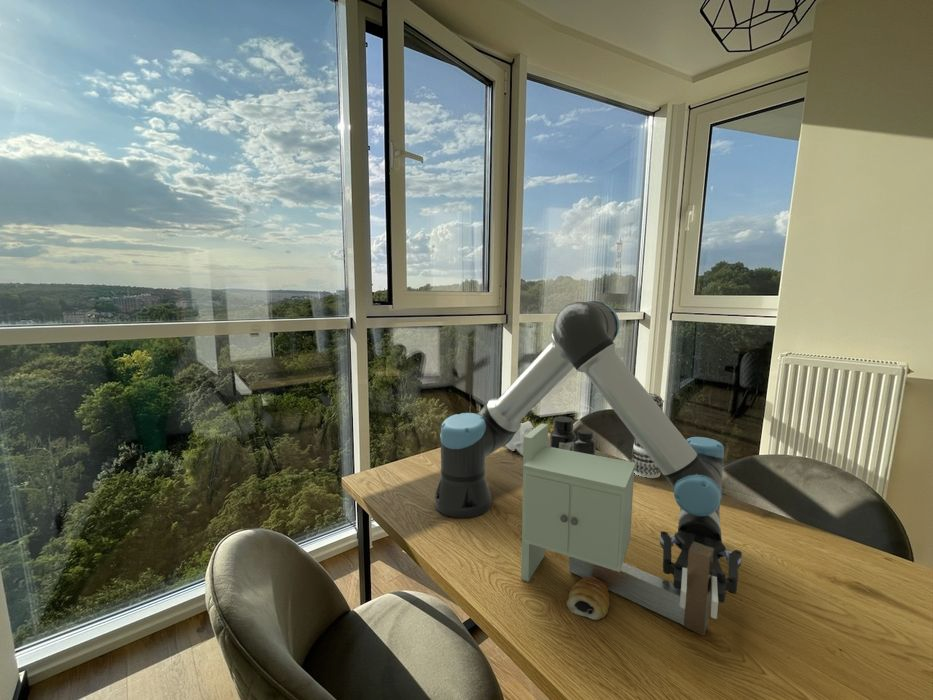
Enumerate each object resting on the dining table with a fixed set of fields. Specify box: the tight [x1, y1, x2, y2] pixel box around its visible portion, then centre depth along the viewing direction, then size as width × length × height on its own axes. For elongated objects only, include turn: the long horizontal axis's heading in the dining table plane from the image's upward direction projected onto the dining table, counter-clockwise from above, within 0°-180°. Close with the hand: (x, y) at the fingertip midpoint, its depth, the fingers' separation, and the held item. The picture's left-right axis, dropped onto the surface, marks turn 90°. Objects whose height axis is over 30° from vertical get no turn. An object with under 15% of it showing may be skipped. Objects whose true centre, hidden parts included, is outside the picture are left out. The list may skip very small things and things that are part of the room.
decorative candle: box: [631, 392, 665, 479], centre depth 128 cm, size 9×9×25 cm
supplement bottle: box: [573, 429, 597, 455], centre depth 133 cm, size 7×7×12 cm
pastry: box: [566, 577, 611, 621], centre depth 74 cm, size 9×7×4 cm
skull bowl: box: [505, 420, 535, 456], centre depth 148 cm, size 10×14×12 cm
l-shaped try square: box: [568, 541, 714, 637], centre depth 74 cm, size 24×3×14 cm, turn 49°
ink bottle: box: [549, 416, 577, 451], centre depth 146 cm, size 10×9×12 cm
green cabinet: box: [520, 422, 636, 583], centre depth 76 cm, size 19×14×29 cm
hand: (698, 604), depth 63 cm, fingers closed on l-shaped try square, 3 cm apart
